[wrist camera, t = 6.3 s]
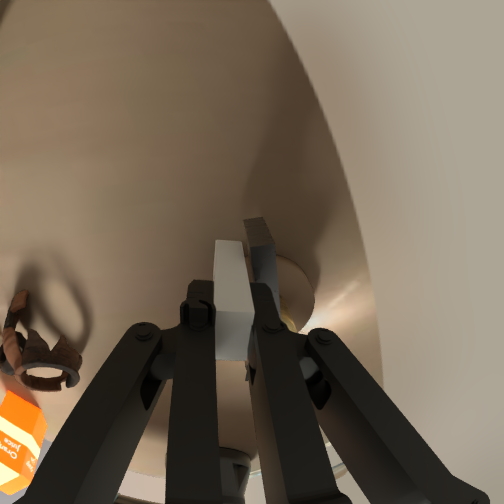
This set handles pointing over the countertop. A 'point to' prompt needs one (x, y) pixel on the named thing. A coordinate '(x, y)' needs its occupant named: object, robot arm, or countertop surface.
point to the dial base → (293, 290)
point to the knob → (265, 265)
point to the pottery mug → (36, 354)
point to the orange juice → (19, 442)
